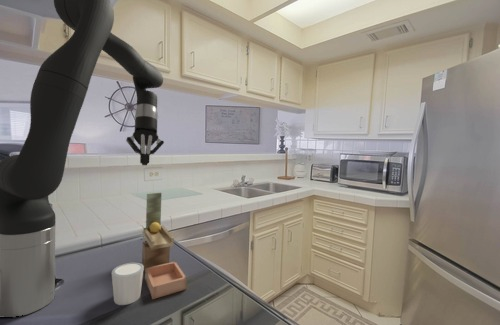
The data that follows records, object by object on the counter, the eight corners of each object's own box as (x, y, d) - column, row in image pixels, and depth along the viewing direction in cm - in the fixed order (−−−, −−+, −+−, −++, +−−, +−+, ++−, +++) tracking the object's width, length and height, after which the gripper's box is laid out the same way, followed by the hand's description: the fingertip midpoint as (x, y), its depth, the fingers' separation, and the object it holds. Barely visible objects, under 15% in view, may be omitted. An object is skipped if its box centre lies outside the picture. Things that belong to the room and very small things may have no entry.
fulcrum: (144, 271, 67) (145, 244, 67) (142, 264, 71) (142, 239, 71) (169, 265, 71) (169, 240, 71) (165, 259, 75) (166, 235, 75)
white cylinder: (129, 309, 51) (130, 278, 51) (103, 303, 53) (104, 273, 52) (149, 291, 58) (150, 264, 58) (125, 287, 59) (126, 260, 59)
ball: (150, 234, 70) (150, 224, 70) (148, 231, 73) (148, 221, 73) (161, 233, 72) (161, 223, 72) (159, 230, 75) (159, 220, 75)
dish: (152, 299, 55) (152, 287, 55) (144, 278, 63) (145, 268, 63) (186, 289, 60) (186, 277, 59) (175, 271, 68) (175, 261, 68)
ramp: (151, 249, 62) (152, 202, 62) (142, 232, 74) (143, 193, 74) (173, 245, 66) (175, 200, 65) (161, 230, 78) (162, 192, 77)
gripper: (127, 112, 79) (124, 161, 75) (167, 118, 86) (166, 164, 82) (125, 119, 85) (122, 165, 82) (162, 125, 92) (161, 167, 89)
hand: (144, 164), depth 82 cm, fingers closed
